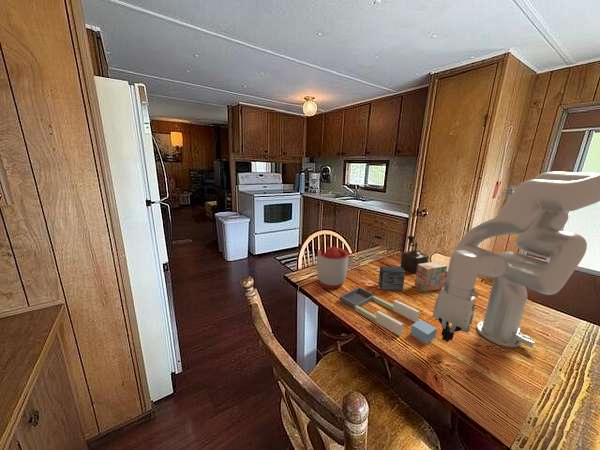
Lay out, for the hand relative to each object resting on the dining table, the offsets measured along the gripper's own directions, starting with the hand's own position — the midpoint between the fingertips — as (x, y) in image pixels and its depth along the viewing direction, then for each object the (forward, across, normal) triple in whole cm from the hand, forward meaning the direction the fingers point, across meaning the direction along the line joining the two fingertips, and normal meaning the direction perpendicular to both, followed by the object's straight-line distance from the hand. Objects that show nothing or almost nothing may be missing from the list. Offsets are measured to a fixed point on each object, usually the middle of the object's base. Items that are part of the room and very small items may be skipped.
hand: (446, 339), depth 80 cm
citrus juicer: (+5, +56, -3) cm, 56 cm away
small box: (+4, +34, -23) cm, 41 cm away
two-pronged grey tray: (+4, +27, -1) cm, 27 cm away
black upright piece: (+3, +40, -55) cm, 68 cm away
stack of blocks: (+3, +20, -44) cm, 48 cm away
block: (+4, +8, -1) cm, 9 cm away
